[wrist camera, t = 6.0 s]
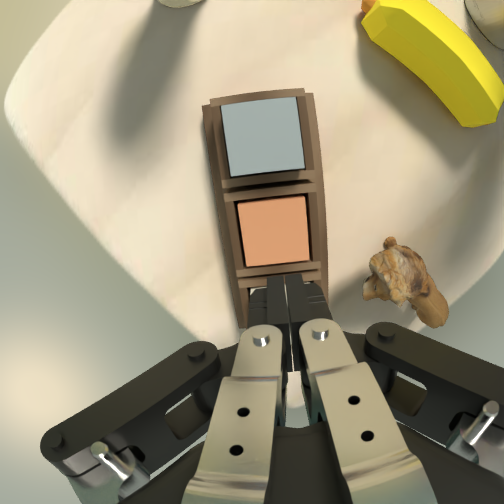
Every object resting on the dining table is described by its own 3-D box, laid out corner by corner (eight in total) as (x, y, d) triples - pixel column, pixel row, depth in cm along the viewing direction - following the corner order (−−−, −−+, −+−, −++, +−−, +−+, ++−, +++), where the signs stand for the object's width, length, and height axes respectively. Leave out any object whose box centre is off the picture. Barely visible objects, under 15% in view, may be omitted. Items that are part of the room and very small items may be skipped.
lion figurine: (334, 259, 26) (362, 310, 17) (365, 213, 24) (410, 247, 16) (422, 315, 28) (457, 363, 20) (449, 281, 26) (491, 322, 18)
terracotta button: (299, 191, 22) (304, 197, 19) (304, 247, 23) (309, 259, 21) (240, 198, 22) (237, 204, 20) (248, 253, 24) (246, 266, 21)
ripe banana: (371, -12, 15) (339, 27, 18) (395, -41, 9) (360, -3, 12) (489, 100, 18) (468, 145, 21) (528, 99, 12) (510, 151, 14)
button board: (309, 96, 20) (320, 85, 16) (325, 310, 28) (334, 337, 24) (205, 108, 21) (192, 100, 17) (240, 319, 29) (236, 347, 24)
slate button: (291, 103, 18) (295, 96, 15) (299, 165, 20) (304, 167, 17) (226, 111, 18) (220, 105, 16) (235, 172, 20) (230, 176, 18)
